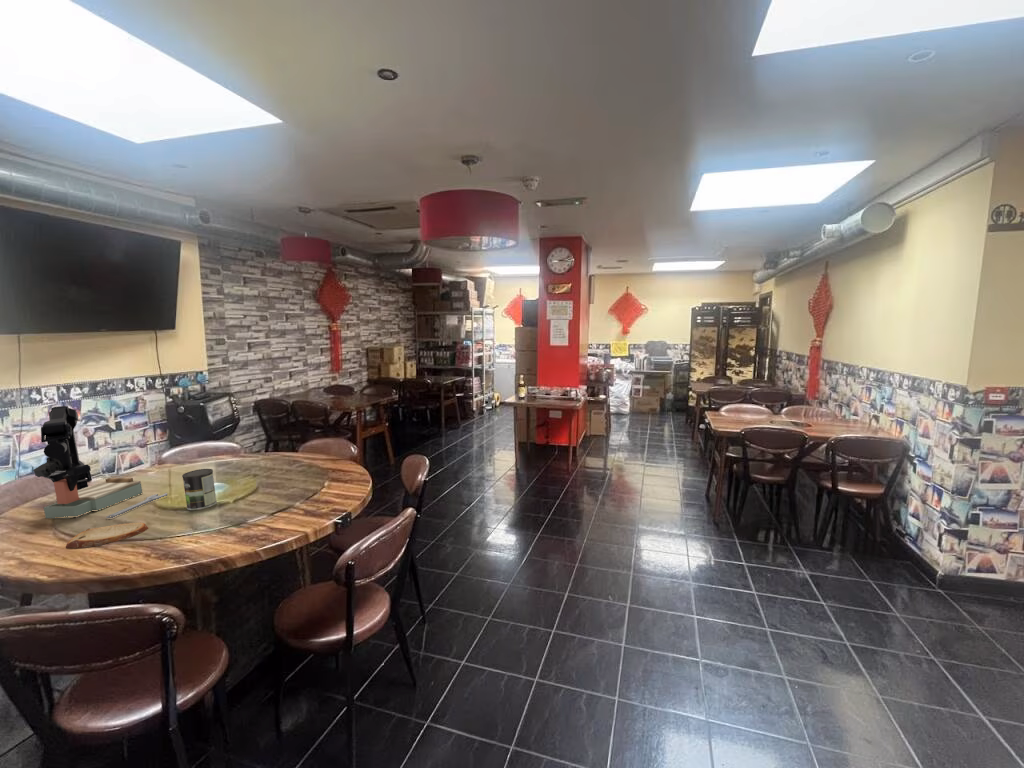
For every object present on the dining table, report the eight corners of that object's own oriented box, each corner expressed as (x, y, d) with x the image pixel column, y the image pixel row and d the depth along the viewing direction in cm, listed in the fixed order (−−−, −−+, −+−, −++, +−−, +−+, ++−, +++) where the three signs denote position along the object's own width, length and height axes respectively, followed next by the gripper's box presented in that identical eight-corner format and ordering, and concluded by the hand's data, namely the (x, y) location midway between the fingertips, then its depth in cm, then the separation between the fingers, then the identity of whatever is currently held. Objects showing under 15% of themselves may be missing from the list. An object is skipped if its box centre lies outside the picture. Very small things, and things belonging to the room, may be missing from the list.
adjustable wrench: (110, 521, 172) (110, 516, 172) (97, 520, 173) (96, 516, 173) (170, 496, 196) (170, 492, 196) (158, 496, 198) (157, 492, 197)
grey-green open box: (41, 518, 177) (39, 506, 177) (107, 494, 203) (105, 483, 202) (80, 518, 175) (78, 506, 174) (142, 493, 201) (140, 483, 200)
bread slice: (153, 528, 162) (152, 518, 162) (96, 552, 145) (94, 541, 145) (118, 525, 167) (116, 515, 167) (58, 548, 150) (57, 537, 149)
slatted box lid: (56, 499, 183) (55, 493, 182) (105, 483, 202) (104, 477, 202) (95, 499, 181) (93, 493, 180) (140, 482, 200) (140, 477, 200)
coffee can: (190, 512, 175) (185, 478, 173) (184, 506, 182) (179, 473, 180) (220, 504, 182) (215, 471, 181) (213, 498, 190) (209, 467, 188)
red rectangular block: (57, 503, 177) (53, 482, 176) (69, 499, 181) (65, 478, 180) (67, 503, 176) (63, 482, 175) (79, 499, 181) (75, 478, 180)
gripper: (15, 459, 170) (22, 498, 171) (57, 458, 168) (64, 498, 169) (48, 451, 181) (55, 488, 182) (88, 450, 178) (95, 487, 180)
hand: (66, 490), depth 178 cm, fingers closed on red rectangular block, 4 cm apart
